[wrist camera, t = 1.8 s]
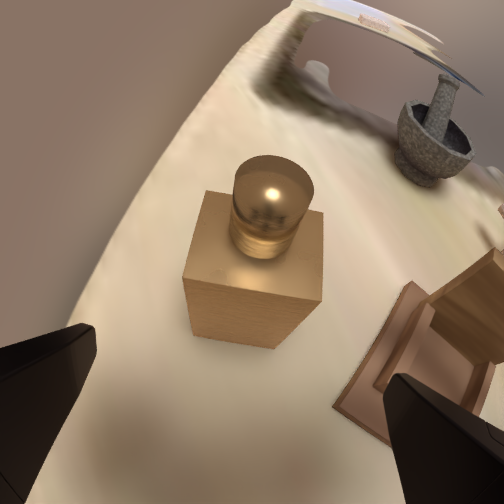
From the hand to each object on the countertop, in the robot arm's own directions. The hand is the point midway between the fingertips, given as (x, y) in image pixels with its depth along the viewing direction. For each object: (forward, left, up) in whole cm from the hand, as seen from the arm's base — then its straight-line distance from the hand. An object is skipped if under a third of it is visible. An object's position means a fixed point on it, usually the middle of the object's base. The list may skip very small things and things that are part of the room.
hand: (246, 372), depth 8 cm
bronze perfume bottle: (+5, +2, -12) cm, 13 cm away
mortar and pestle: (+31, -9, -12) cm, 35 cm away
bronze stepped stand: (+6, -14, -12) cm, 20 cm away
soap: (+100, +5, -12) cm, 101 cm away
